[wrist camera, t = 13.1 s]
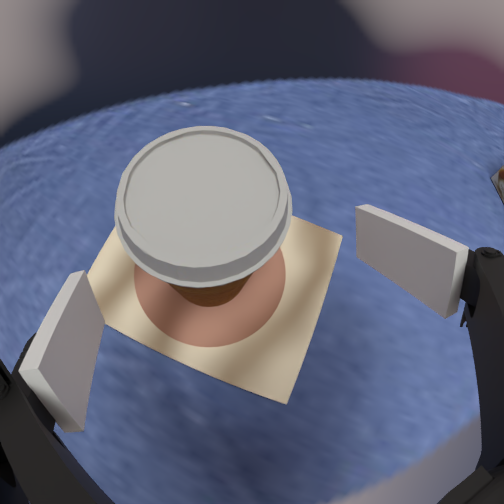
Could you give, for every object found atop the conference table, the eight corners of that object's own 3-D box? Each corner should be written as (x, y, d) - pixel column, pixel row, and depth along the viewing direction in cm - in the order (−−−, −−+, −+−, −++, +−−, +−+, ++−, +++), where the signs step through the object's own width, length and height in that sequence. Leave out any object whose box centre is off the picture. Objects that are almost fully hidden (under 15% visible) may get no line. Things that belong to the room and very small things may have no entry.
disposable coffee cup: (131, 273, 25) (75, 195, 14) (207, 202, 28) (202, 100, 17) (213, 351, 23) (204, 325, 12) (288, 266, 26) (332, 183, 15)
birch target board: (77, 307, 24) (71, 303, 23) (157, 173, 31) (155, 164, 30) (283, 403, 23) (287, 404, 22) (338, 241, 29) (343, 235, 28)
